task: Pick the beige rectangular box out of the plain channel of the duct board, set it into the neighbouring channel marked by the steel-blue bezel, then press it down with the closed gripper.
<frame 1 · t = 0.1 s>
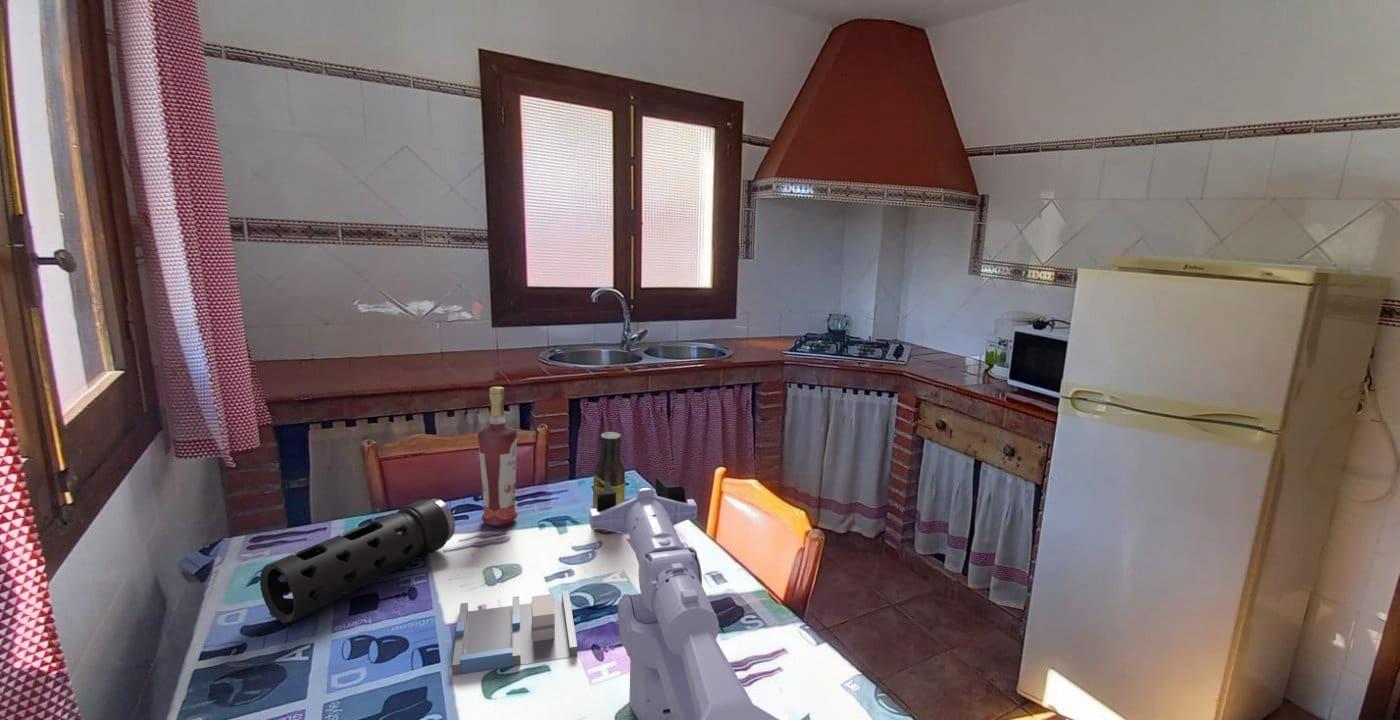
hand: (632, 485, 91), 22 cm above the table, tool horizontal, fingers open, 7 cm apart
liquor: (499, 523, 124), on the table
muzzle brake: (370, 584, 101), on the table
sauce bottle: (608, 528, 123), on the table
beige rectangular box: (543, 629, 89), point 1 cm above the table, touching duct board
duct board: (516, 639, 88), on the table
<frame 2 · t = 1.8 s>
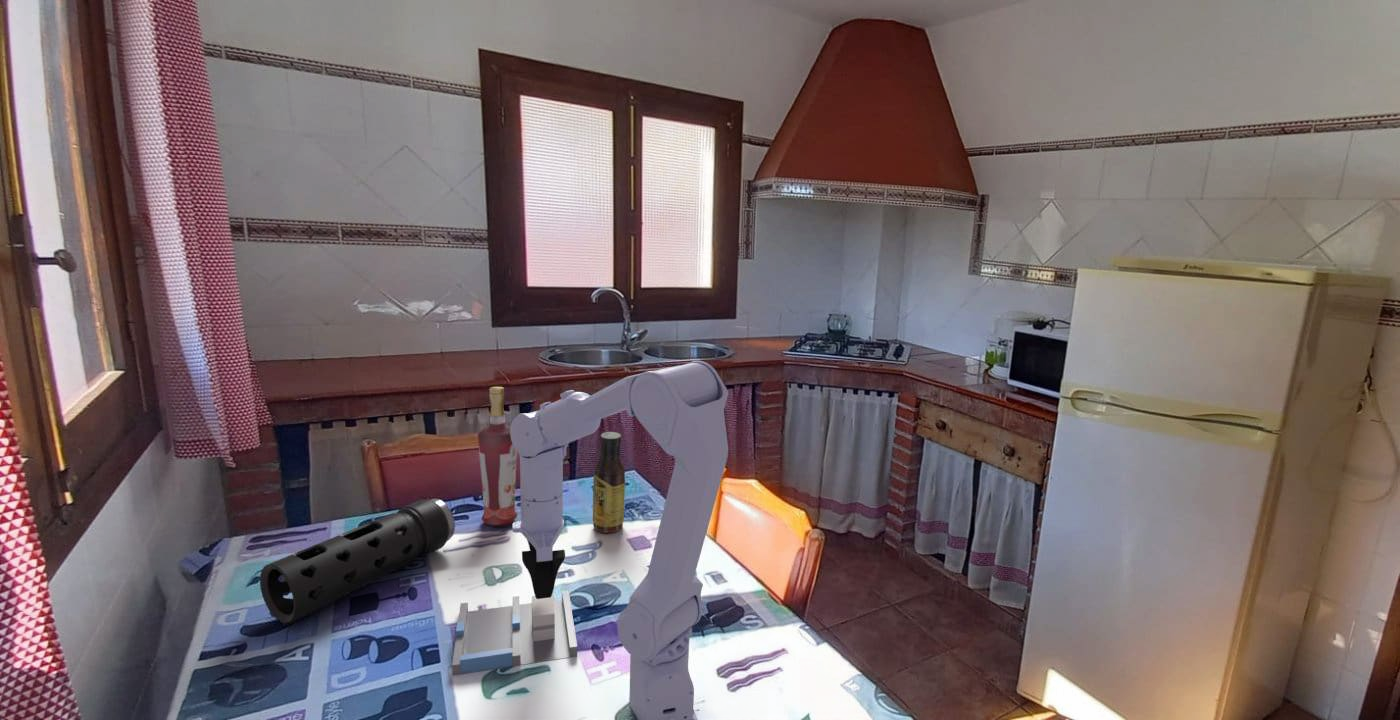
hand: (542, 581, 88), 9 cm above the table, tool pointing down, fingers open, 7 cm apart
nothing on the table moved.
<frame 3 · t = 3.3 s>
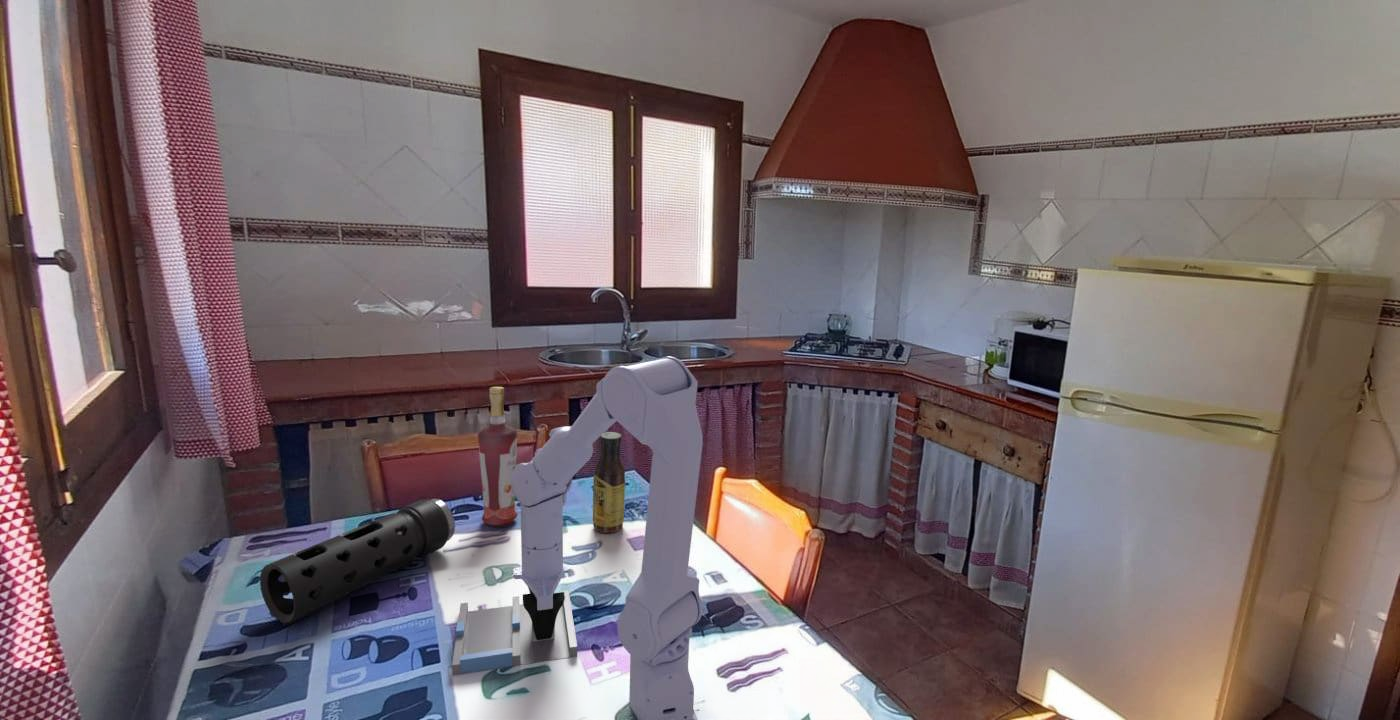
hand: (543, 625, 89), 2 cm above the table, tool pointing down, fingers closed on beige rectangular box, 5 cm apart
beige rectangular box: (543, 629, 89), point 1 cm above the table, touching duct board, gripper
everything else where it was.
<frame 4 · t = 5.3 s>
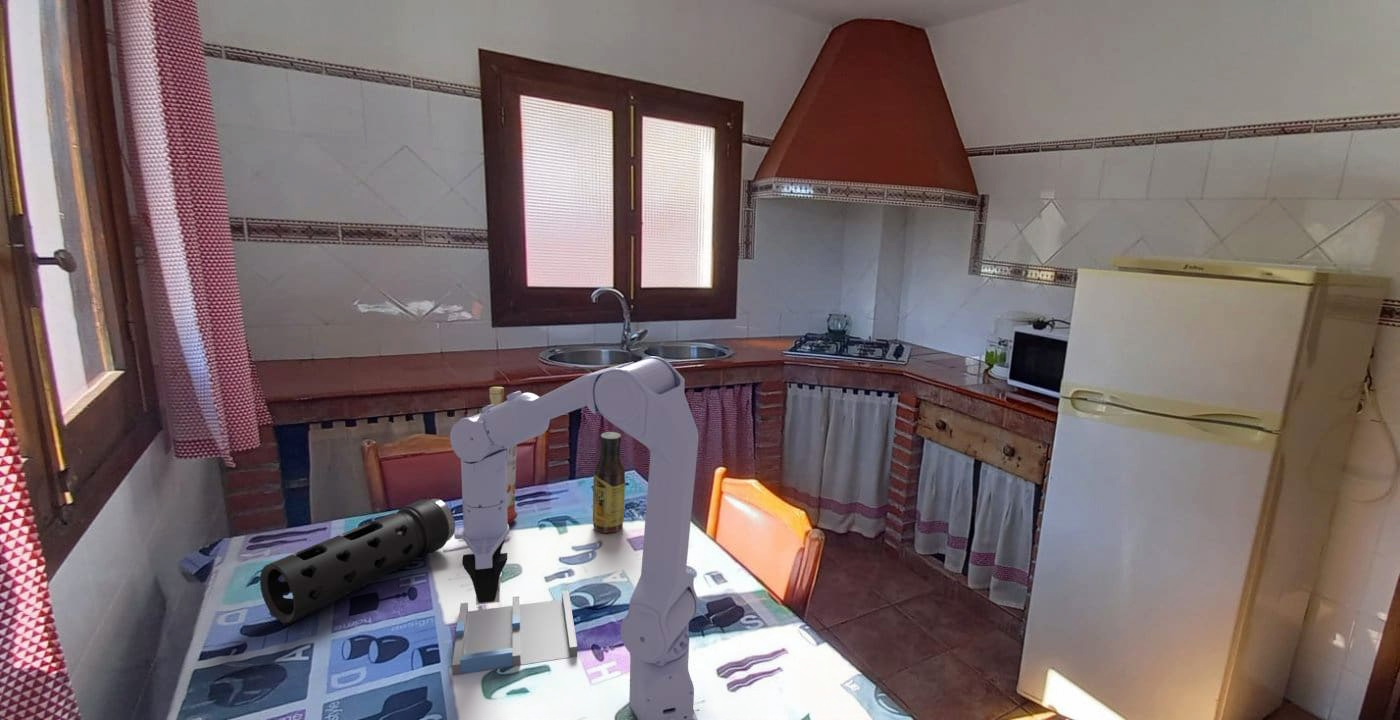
hand: (487, 589, 86), 9 cm above the table, tool pointing down, fingers closed on beige rectangular box, 5 cm apart
beige rectangular box: (488, 593, 86), point 8 cm above the table, touching gripper
everything else where it was.
when the fingers open (3 cm above the table, at t = 7.3 s): beige rectangular box stays where it is, resting on duct board.
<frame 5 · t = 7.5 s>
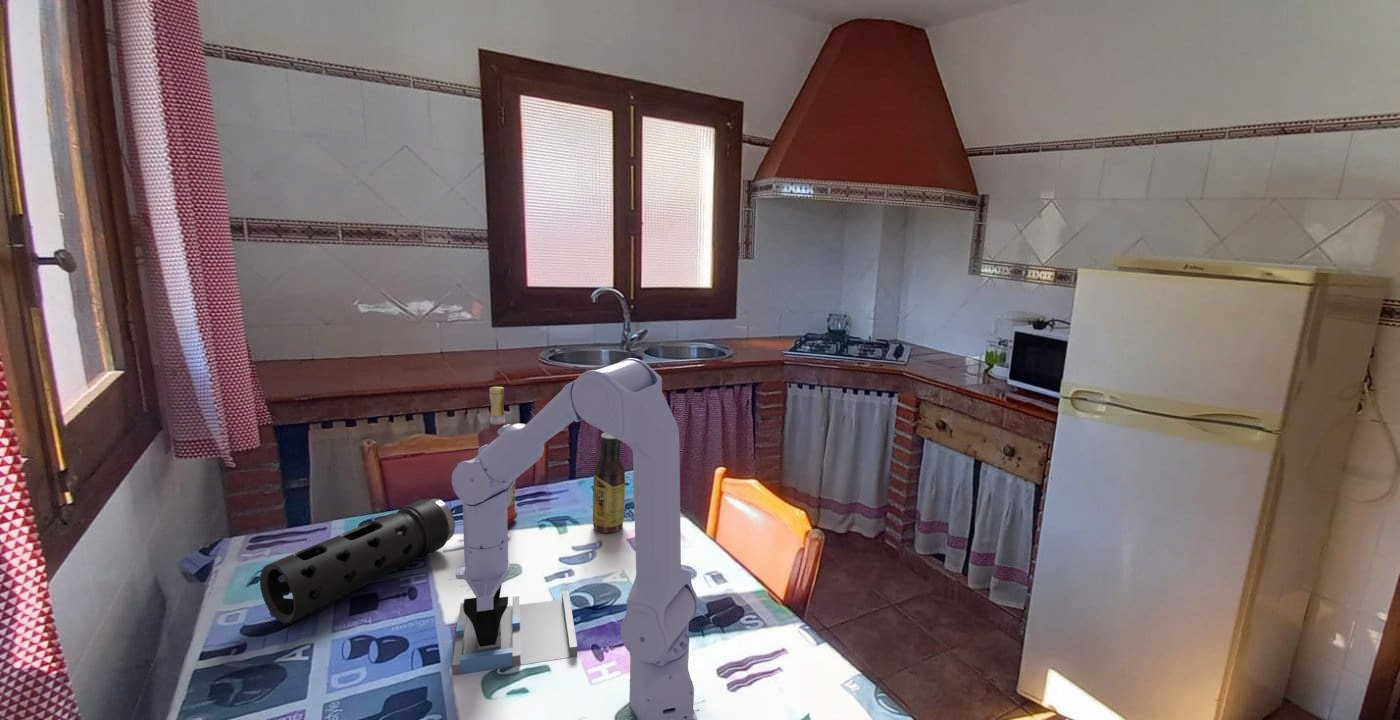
hand: (488, 627, 87), 3 cm above the table, tool pointing down, fingers open, 7 cm apart
beige rectangular box: (489, 636, 87), point 1 cm above the table, touching duct board
everything else where it was.
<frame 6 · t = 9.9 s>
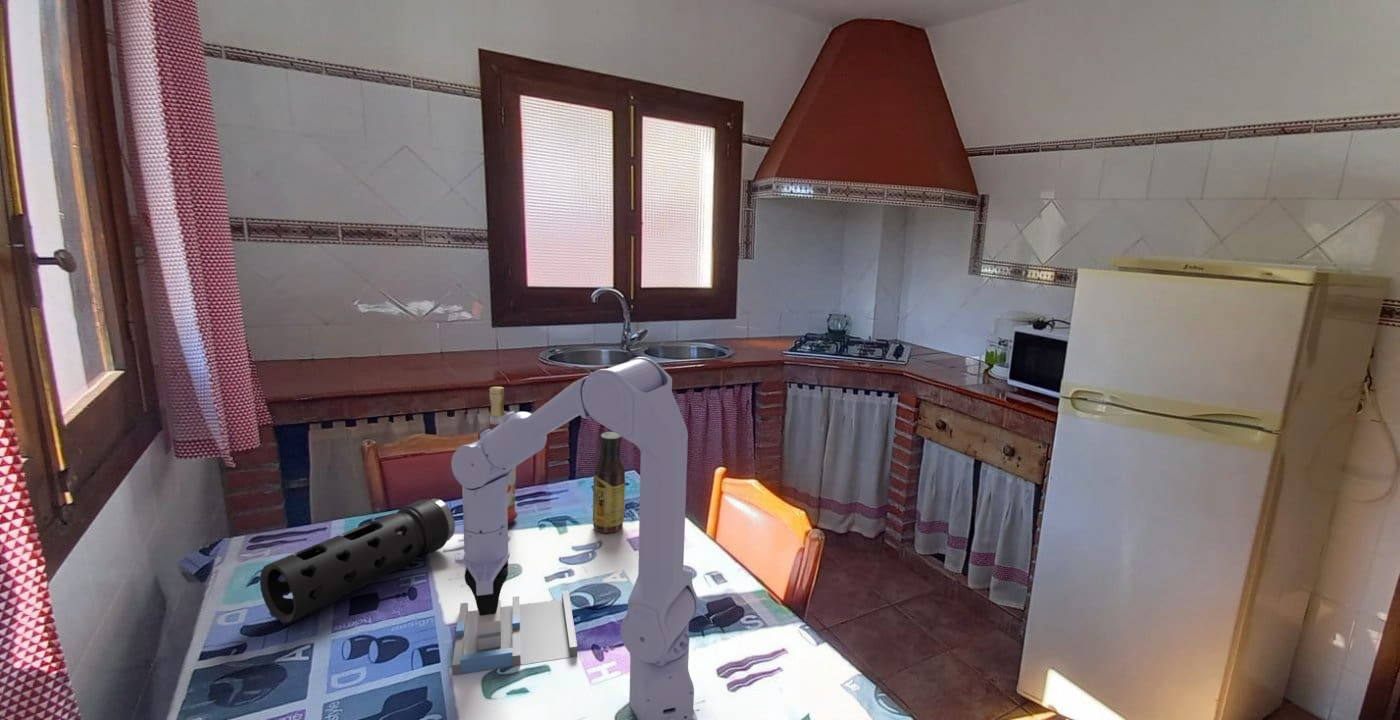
hand: (488, 612, 86), 5 cm above the table, tool pointing down, fingers closed, pressing on beige rectangular box
beige rectangular box: (489, 636, 87), point 1 cm above the table, touching duct board, gripper
everything else where it was.
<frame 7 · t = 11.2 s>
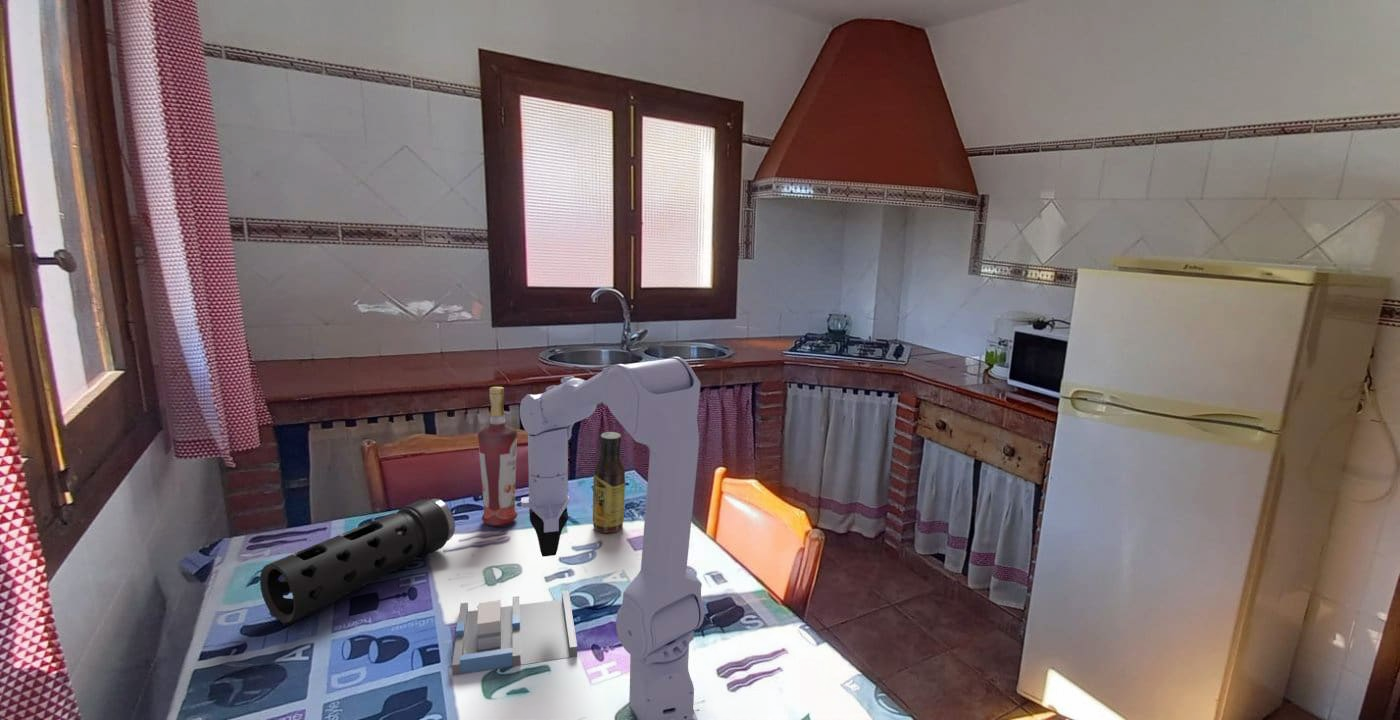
hand: (548, 553, 94), 9 cm above the table, tool pointing down, fingers closed
beige rectangular box: (489, 636, 87), point 1 cm above the table, touching duct board
everything else where it was.
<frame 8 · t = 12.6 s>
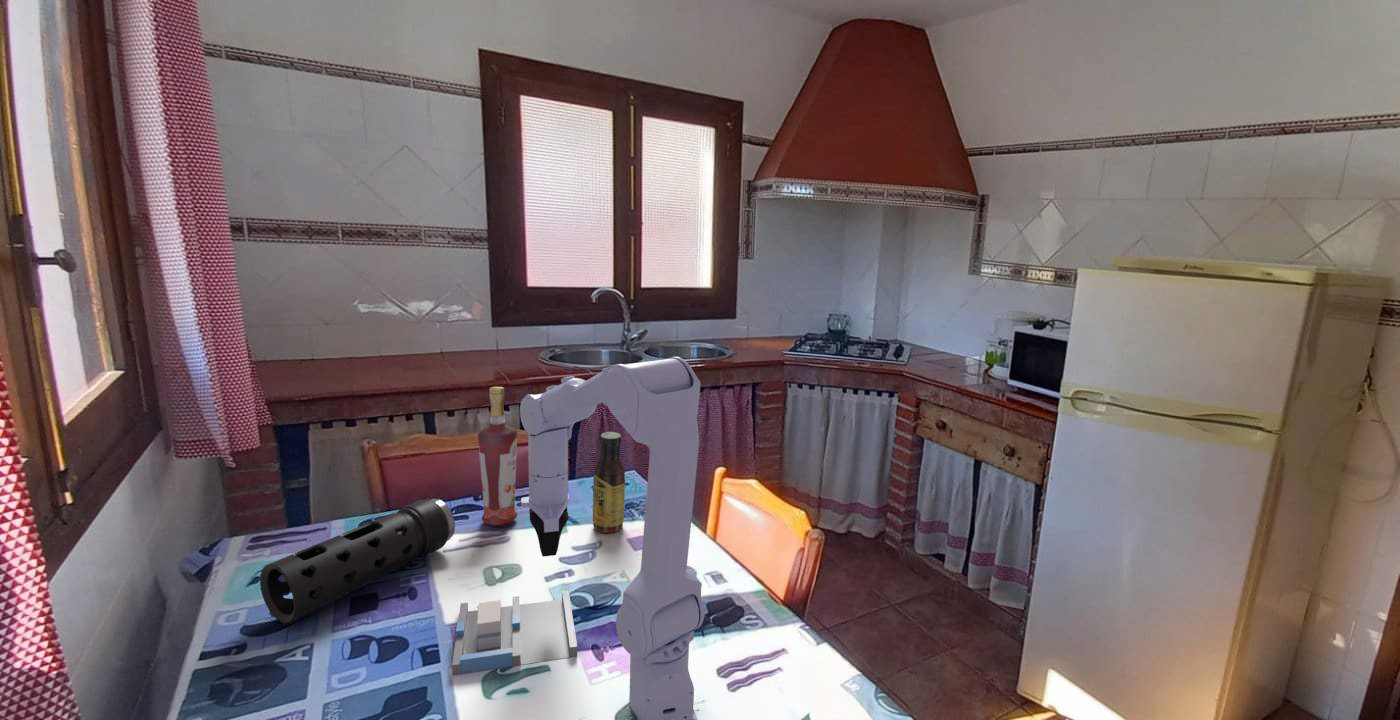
hand: (548, 553, 94), 9 cm above the table, tool pointing down, fingers closed
nothing on the table moved.
at the end: beige rectangular box 0.1 cm from the target spot on the duct board, point 1.0 cm above the duct board's base; beige rectangular box tilted 0°; the gripper is holding nothing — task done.
